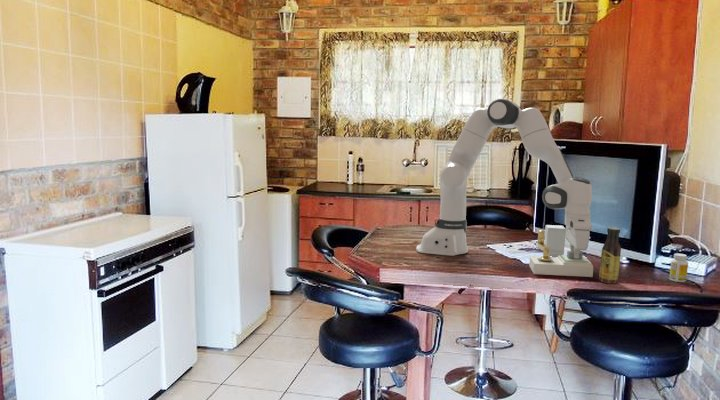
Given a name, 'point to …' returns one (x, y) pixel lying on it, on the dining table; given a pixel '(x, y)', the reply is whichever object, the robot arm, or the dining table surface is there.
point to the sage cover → (570, 257)
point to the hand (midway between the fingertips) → (574, 256)
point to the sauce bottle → (610, 257)
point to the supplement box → (555, 239)
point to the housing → (560, 267)
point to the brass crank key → (543, 246)
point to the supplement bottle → (679, 268)
